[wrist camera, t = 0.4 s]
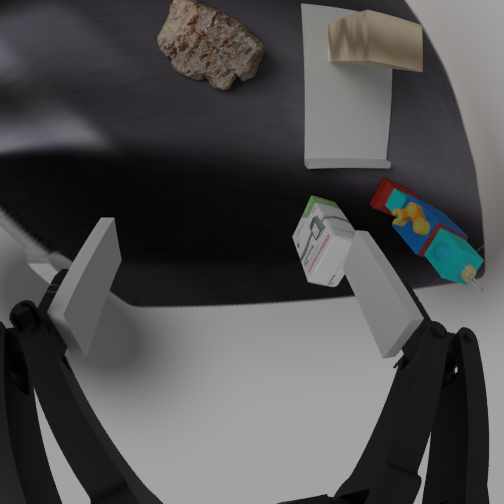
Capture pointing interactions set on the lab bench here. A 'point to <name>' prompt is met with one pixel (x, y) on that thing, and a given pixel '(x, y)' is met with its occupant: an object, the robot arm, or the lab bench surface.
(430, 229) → the toy robot
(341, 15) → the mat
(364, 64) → the block
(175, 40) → the rock
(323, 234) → the ink box
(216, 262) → the lab bench surface
